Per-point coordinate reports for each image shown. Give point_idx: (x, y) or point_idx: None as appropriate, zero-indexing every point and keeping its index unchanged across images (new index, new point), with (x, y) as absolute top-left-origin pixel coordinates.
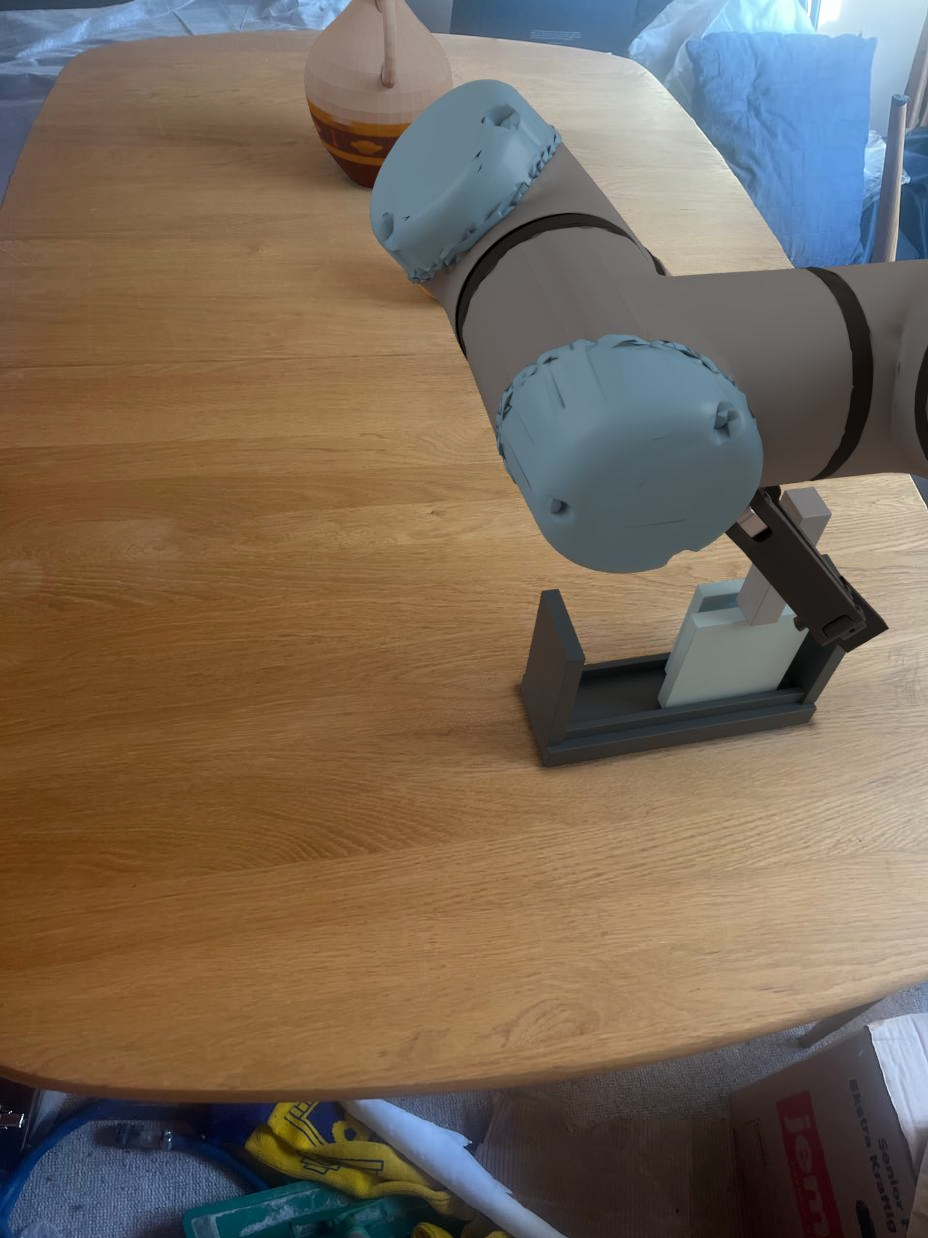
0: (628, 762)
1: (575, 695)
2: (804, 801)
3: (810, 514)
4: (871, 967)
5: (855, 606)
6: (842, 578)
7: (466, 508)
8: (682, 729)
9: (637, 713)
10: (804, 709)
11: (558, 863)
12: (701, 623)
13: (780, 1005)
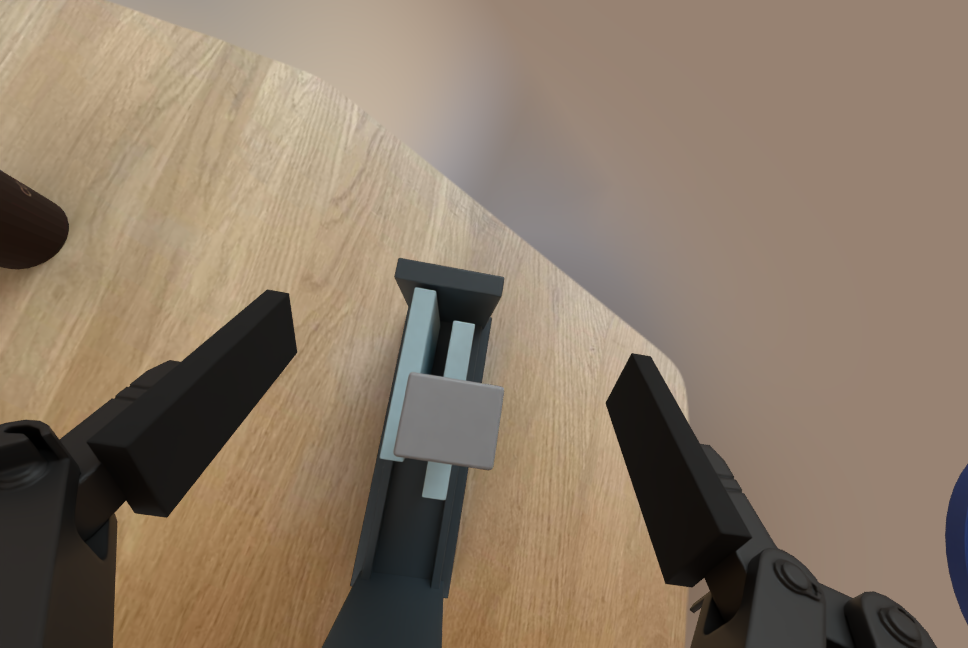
0: (469, 500)
1: (441, 637)
2: (551, 370)
3: (489, 442)
4: (678, 404)
5: (905, 643)
6: (725, 533)
7: None
8: None
9: (446, 499)
10: (489, 329)
11: (537, 612)
12: (442, 491)
13: None
